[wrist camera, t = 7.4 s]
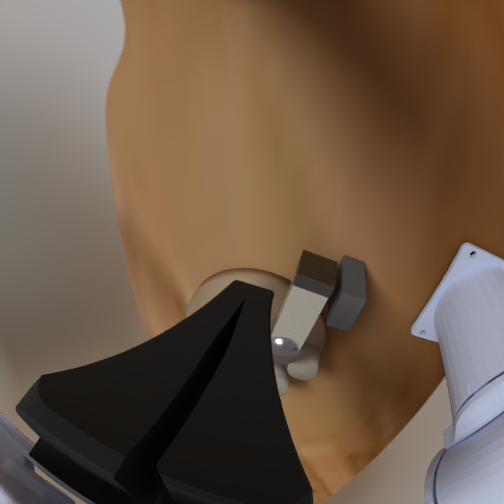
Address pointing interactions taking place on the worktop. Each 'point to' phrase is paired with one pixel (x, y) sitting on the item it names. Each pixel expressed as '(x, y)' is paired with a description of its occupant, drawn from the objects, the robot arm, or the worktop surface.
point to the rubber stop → (347, 294)
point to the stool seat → (279, 285)
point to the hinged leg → (302, 306)
